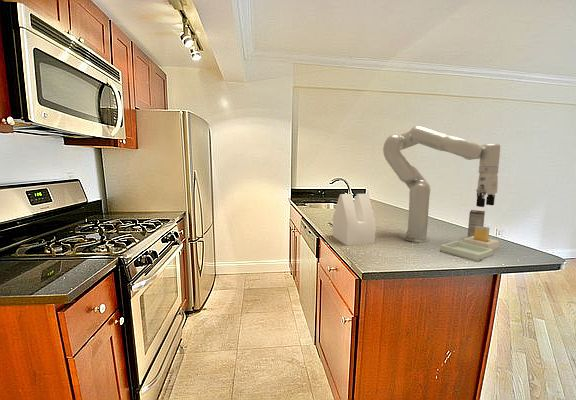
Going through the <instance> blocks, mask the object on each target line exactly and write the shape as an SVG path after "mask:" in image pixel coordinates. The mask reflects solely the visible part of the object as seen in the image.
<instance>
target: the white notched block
mask: <svg viewBox="0 0 576 400" xmlns="http://www.w3.org/2000/svg"><path fill="white" fill-rule="evenodd" d="M336 202H337V203H336V206H335V209H334V212H333V214H332V215H333V216H332V237H334V238H335V239H336V240H337V241H340V242H341V243H342V244H344V245H345V246H361V245H362V246H363V245H374V244H376V242H375V241H376V224H377V223H376V222H377V221H376V219H375V213H374V211H373V206H372V202H371V199H370V195H369V193H356V194H355V198H353V194H351V193H342V194H341V193H340V194H339V196H338V199H337V201H336Z"/></svg>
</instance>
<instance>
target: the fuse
mask: <svg viewBox="0 0 576 400" xmlns="http://www.w3.org/2000/svg"><path fill="white" fill-rule="evenodd" d="M490 229H491V228H490V227H488V226H484V225H483V226H475V233H474V240H479V241H483V242H488V239H490V238H489V236H490Z"/></svg>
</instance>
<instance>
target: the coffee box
mask: <svg viewBox="0 0 576 400" xmlns="http://www.w3.org/2000/svg"><path fill="white" fill-rule="evenodd" d="M485 214H486V211H485V210H477V209H471V210H470V212H469V217H468V226H467V227H468V230H467V236H466V238H468V237H472V236H474V233H475V226H483V227H484V223H485Z"/></svg>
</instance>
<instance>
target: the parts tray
mask: <svg viewBox="0 0 576 400" xmlns="http://www.w3.org/2000/svg"><path fill="white" fill-rule="evenodd" d="M439 249H440V250H439V252H440V253H445V254H447V255H452V256H455V257H460V258H462V259H465V260H469V261H473V262H477V263H479V262H481V261H482V260H484V259H487V258H489V257H491V256H493V255H494V251H495V249H494V250H493V249H488V248H484V247H480V246H476V245H471V244H467V243H463V241H458V240H455V241H451V242H448V243H443V244H440V248H439Z"/></svg>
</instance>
